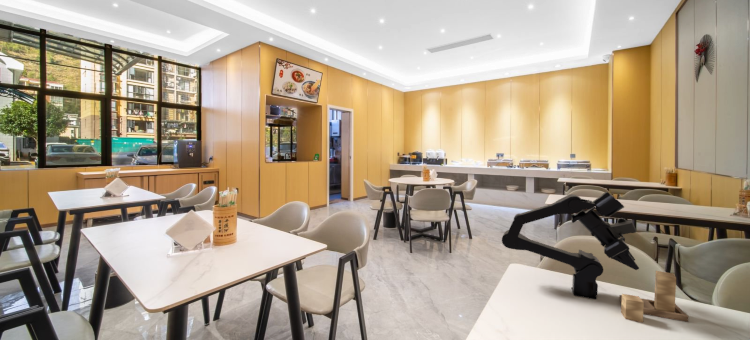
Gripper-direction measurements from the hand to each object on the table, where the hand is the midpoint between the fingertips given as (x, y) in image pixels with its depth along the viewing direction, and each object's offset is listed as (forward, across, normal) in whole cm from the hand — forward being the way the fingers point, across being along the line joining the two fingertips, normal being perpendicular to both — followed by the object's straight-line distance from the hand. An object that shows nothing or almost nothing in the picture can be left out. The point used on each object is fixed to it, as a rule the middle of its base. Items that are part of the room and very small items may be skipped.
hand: (635, 264), depth 95 cm
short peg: (+9, -10, +10) cm, 17 cm away
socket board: (+12, -1, +6) cm, 14 cm away
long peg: (+14, 0, +4) cm, 15 cm away
